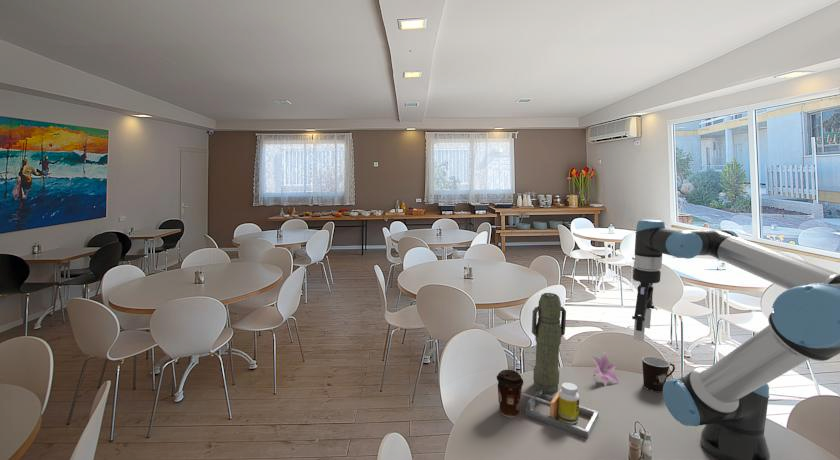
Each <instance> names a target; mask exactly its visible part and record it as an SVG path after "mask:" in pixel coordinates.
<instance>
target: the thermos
mask: <svg viewBox="0 0 840 460" xmlns="http://www.w3.org/2000/svg"><path fill="white" fill-rule="evenodd" d="M537 315H538V316H537ZM560 318H561V320H560ZM566 318H567V310H566V309H565V308H564V307H563V306H562V302H561V299H560V296H559V295H558V294H556V293H553V292H544V293H542V294H541V295H540V298H539V300H538V305H537V306H535V307H534V308H533V310H532V320H531V321H532V322H531V333H532V334H533V335H534V337H535V338H534V339H535V343H536V345H535V349H536V350H535V365H534V366H533V378H532V379H533V385H534V386H533V388H534V387H535V388H536V389H537V390H538V389H539V388H541V389H542V393H544V394H554V393H558V392H559V384H560V369H559V359H560V358H559V355H560V345H561V343H562V337H563V336H565V333H566V320H567V319H566ZM535 388H534V389H535ZM536 389H535V390H536ZM537 390H536V391H537Z"/></svg>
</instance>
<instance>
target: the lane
mask: <svg viewBox="0 0 840 460" xmlns="http://www.w3.org/2000/svg"><path fill="white" fill-rule="evenodd" d="M531 396H532V397H531V398H529V399H528V401H527V403H526V409H525V416H527V417H530V418H532V419H535V420H537V421H541V422H543V423H545V424H549V425H551V426H554V427H556V428H559V429H561V430H564V431H566V432H570V433H571V434H572V433H573V434H575V435H577V436H580V437H583V438H586V439H588V438H589V437H590V434H591V433H592V431H593V429H594V427H595V425H596V423H597V421H598V419H599V410H598V411H597V410H595V409H592V408H588V407H585V406H582V405H580V404H579V414H580V415H581V414H582V415H584V416H588V417H590V419H589V421H588V423H587V425H586V427H585V428H583V427H580V426H578V425H575V424H570V423H567V422H564V421H562V420H560V419H559V418H557V417H556V418H553V417H551V416H550V415H548V414H545V413H542V412H539V411H537V410H535V409H536V408H535V407H536V406H538V405H539V404H540V403H542V402H541V401H538V400H535V397H537V398H540V399H543V400H546V401H549V402H551V401H552V400H553V398H554V397H555V396H553V395H549V394H548V393H543V392H542V389H541V388H539V389H538V390H536V391H535V393H534V395H531ZM533 396H534V397H533Z"/></svg>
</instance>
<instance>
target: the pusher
mask: <svg viewBox="0 0 840 460" xmlns="http://www.w3.org/2000/svg"><path fill="white" fill-rule="evenodd" d="M560 390H562V388H560V389H559V390H558V391H557V392H556V395H555V396H553V397H554V398H553V400H552V401H551V402H549V401H546V400H543V399H540V398H537V397H535V395H530V394H528V393H525V392H522V391H521V396H524V397H527V398H529V399H530V398H531V397H532V396H533V397H535V400H538V401H541V402H540V403H544V404H547V405H550V409H549V410H550V411H549V416H551V417H553V418H556V419H557V418H558V398H559V392H560Z"/></svg>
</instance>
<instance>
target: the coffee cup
mask: <svg viewBox="0 0 840 460" xmlns="http://www.w3.org/2000/svg"><path fill="white" fill-rule="evenodd" d="M496 380H497V382H498V383H497V396H498V402H499V406H498V407H499V412H500V414H501V415H502V416H503V417H506V418H510V419H511V418H513V419H514V418H516V417H517V416H519V415H520V405H521V398H522V395H521V392H522V389H523V385H524V379H523V377H522V375H521V374H519V373H518V372H517V371H516V370H513V369H503V370H501V371H499V373H498V374H497V375H496Z"/></svg>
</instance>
